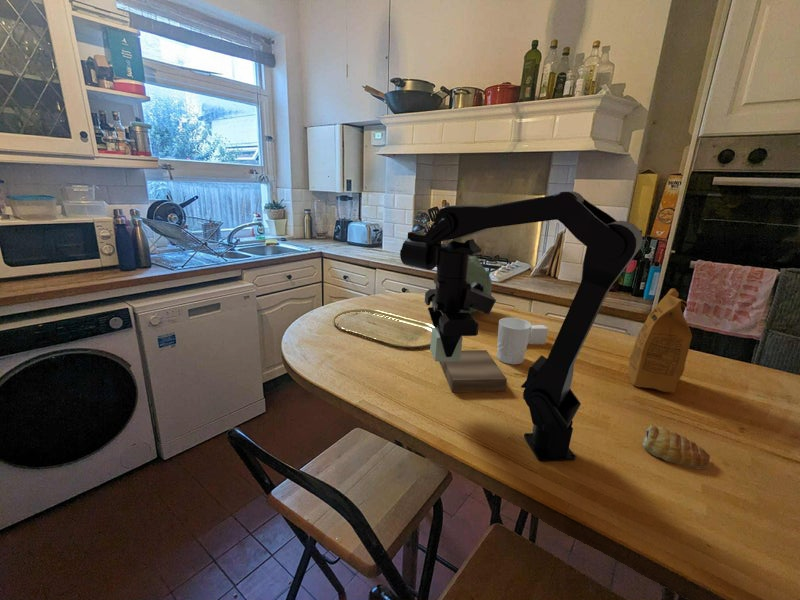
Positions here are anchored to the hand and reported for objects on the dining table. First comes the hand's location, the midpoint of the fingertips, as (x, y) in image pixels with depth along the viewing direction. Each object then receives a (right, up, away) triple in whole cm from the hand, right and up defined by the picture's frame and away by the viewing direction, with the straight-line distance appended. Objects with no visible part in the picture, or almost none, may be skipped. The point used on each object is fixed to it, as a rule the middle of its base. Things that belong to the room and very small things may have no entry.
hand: (445, 350), depth 74 cm
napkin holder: (+27, -3, +33) cm, 43 cm away
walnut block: (+7, -8, +14) cm, 18 cm away
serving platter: (-14, +1, +39) cm, 41 cm away
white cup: (+20, -5, +23) cm, 31 cm away
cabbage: (+13, +6, +54) cm, 56 cm away
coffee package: (+51, -9, +15) cm, 54 cm away
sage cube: (0, -1, 0) cm, 1 cm away
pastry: (+38, -17, -8) cm, 43 cm away
